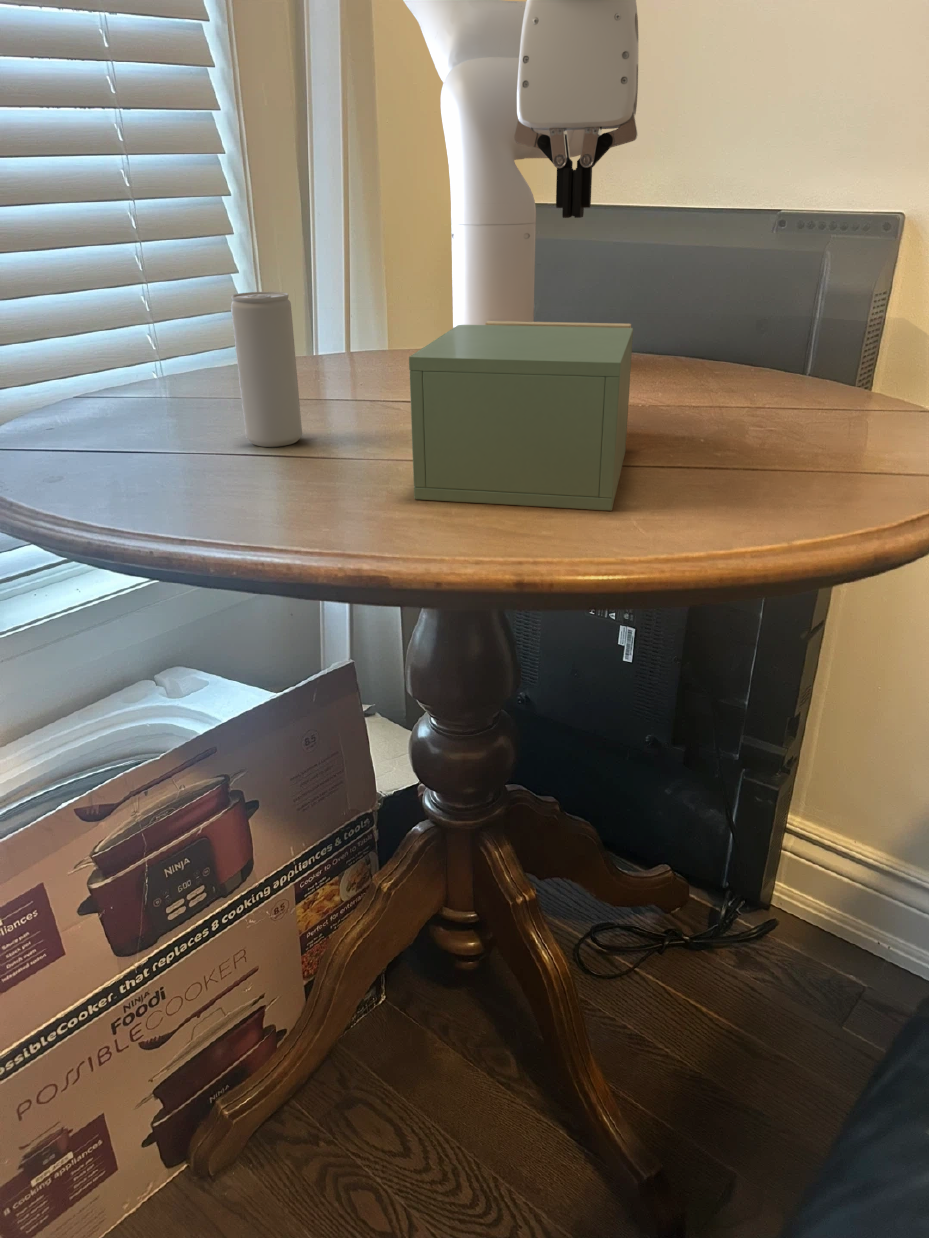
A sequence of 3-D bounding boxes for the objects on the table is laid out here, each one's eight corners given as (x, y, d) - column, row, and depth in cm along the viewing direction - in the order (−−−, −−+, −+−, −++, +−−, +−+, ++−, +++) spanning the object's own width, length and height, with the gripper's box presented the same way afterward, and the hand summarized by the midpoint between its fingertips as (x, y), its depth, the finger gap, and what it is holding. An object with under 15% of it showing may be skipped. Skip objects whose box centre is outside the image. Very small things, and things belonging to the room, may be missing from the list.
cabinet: (459, 445, 78) (458, 324, 74) (625, 452, 75) (633, 328, 71) (413, 499, 65) (408, 356, 61) (611, 511, 62) (620, 362, 58)
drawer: (497, 399, 90) (497, 314, 86) (628, 403, 87) (634, 316, 84) (455, 448, 74) (453, 346, 70) (614, 455, 71) (621, 350, 68)
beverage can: (290, 449, 77) (276, 298, 72) (237, 447, 78) (219, 298, 73) (310, 435, 82) (298, 291, 77) (259, 432, 83) (244, 291, 77)
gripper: (674, -22, 78) (658, 215, 86) (499, -12, 81) (499, 217, 89) (672, -42, 71) (655, 218, 79) (482, -29, 74) (484, 219, 82)
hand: (573, 216), depth 84 cm, fingers closed
